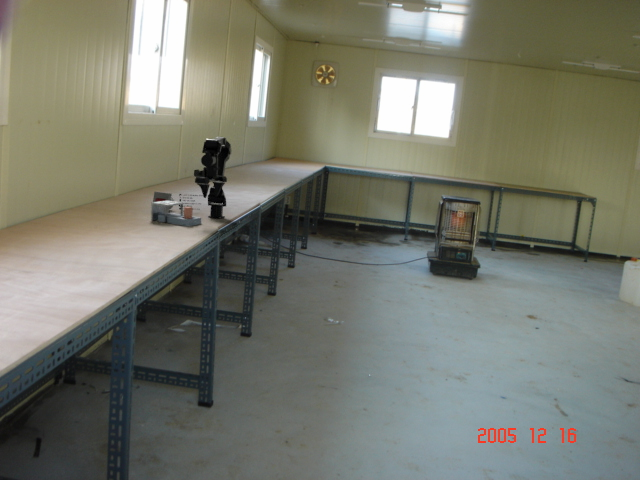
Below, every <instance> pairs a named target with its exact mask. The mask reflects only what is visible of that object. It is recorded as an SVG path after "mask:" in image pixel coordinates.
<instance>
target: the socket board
mask: <svg viewBox="0 0 640 480" xmlns="http://www.w3.org/2000/svg"><path fill="white" fill-rule="evenodd" d="M157 221H158V222H161V223H165V214H162V215H158V220H157ZM166 224H173V225H178V226H184V227H193V226H196V225H201V224H202V217H200V216H194V215H192V219H185V218H184V214H183V215H182V214H181V213H174V212H169V213H168V214H167V223H166Z"/></svg>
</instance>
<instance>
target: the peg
mask: <svg viewBox="0 0 640 480" xmlns="http://www.w3.org/2000/svg"><path fill="white" fill-rule="evenodd" d="M183 210H184V212H183V215H184V218H185V219H192V216H193V210H194V208H193V206H191V207H185V206H183Z"/></svg>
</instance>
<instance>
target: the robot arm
mask: <svg viewBox="0 0 640 480" xmlns="http://www.w3.org/2000/svg"><path fill="white" fill-rule="evenodd" d="M231 144H232V143H230V142H229V141H228V140H227V137H226V136H216V137H214V138H211V139H210V138H205V141H204V142H203V147H202V151H201V152H202V153H201V154H204V155H202V157H201V158H200V162H201V165H202V166H203V169H201V170H199V169H194V170H193V176H194V177H195V178H194V183H195V184H196V185H198V187H200V190H201V193H202V195H203V196H202V197H203V198H205V199H206V198H207V206H209V207H210V214H209V215H208V216H207V217H208V218H212V219H223V218H226V216H224V215H223V214H224V212H223V211H224V210H223V209H224V207H227V198H226V195H225V191H224V189H223V187H224V185H225V184H226V183H227V182H228V178H227V176H225V170H226V163H227V162H228V161H229V160H230V158H231V157H230V156H231V155H232V145H231ZM210 182H211V183H212V184H213V186H211V187H210V185H211V184H210Z"/></svg>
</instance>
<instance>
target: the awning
mask: <svg viewBox="0 0 640 480" xmlns="http://www.w3.org/2000/svg"><path fill="white" fill-rule="evenodd" d="M179 205H180V206H181V210H180V214H182V215H184V212H183V210H184V202H183V201H181V202H180V201H175V200H174V201H169V200H167V201H159V202H153V201H152V202H151V206H150V208H151V210H150V220H151V221H158V215H162V214H165V222H164V224H168V223H167V214H168V213H170V210H169V206H173V207H174V206H179Z"/></svg>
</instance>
